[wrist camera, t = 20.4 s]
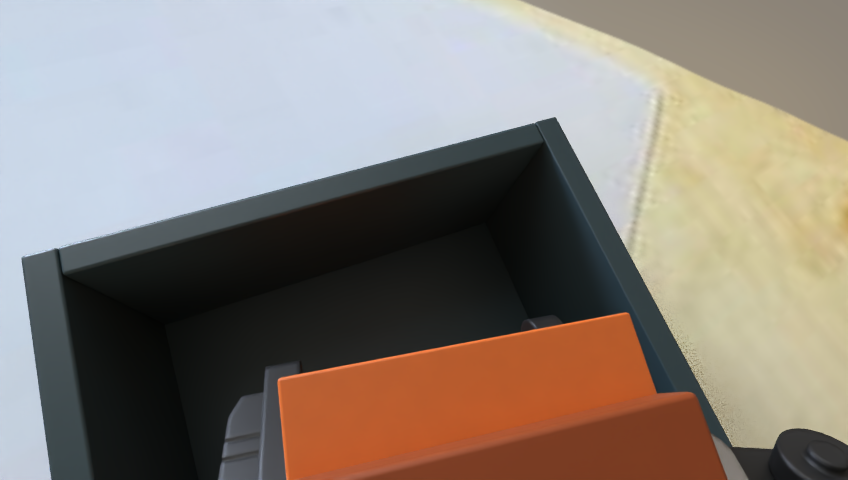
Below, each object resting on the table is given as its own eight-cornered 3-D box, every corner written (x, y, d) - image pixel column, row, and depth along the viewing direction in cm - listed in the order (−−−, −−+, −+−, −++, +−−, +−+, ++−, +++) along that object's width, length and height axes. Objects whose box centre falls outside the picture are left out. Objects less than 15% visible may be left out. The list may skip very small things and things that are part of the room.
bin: (488, 210, 23) (555, 116, 15) (644, 551, 18) (838, 641, 11) (146, 316, 18) (19, 255, 11) (246, 789, 14) (144, 1179, 7)
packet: (459, 372, 17) (663, 299, 6) (482, 476, 16) (780, 611, 5) (319, 400, 16) (266, 372, 5) (333, 515, 15) (302, 796, 4)
